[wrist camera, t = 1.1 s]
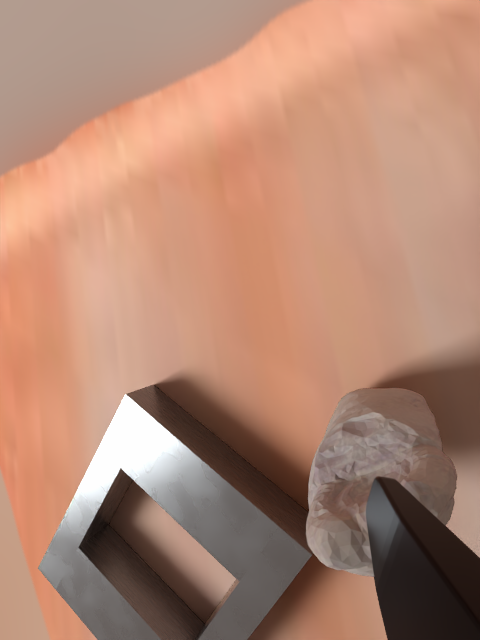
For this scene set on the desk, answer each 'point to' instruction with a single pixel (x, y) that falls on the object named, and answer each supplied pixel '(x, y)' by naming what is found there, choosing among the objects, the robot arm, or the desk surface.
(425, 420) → the pale grey rock
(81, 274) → the desk surface
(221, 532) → the socket block
